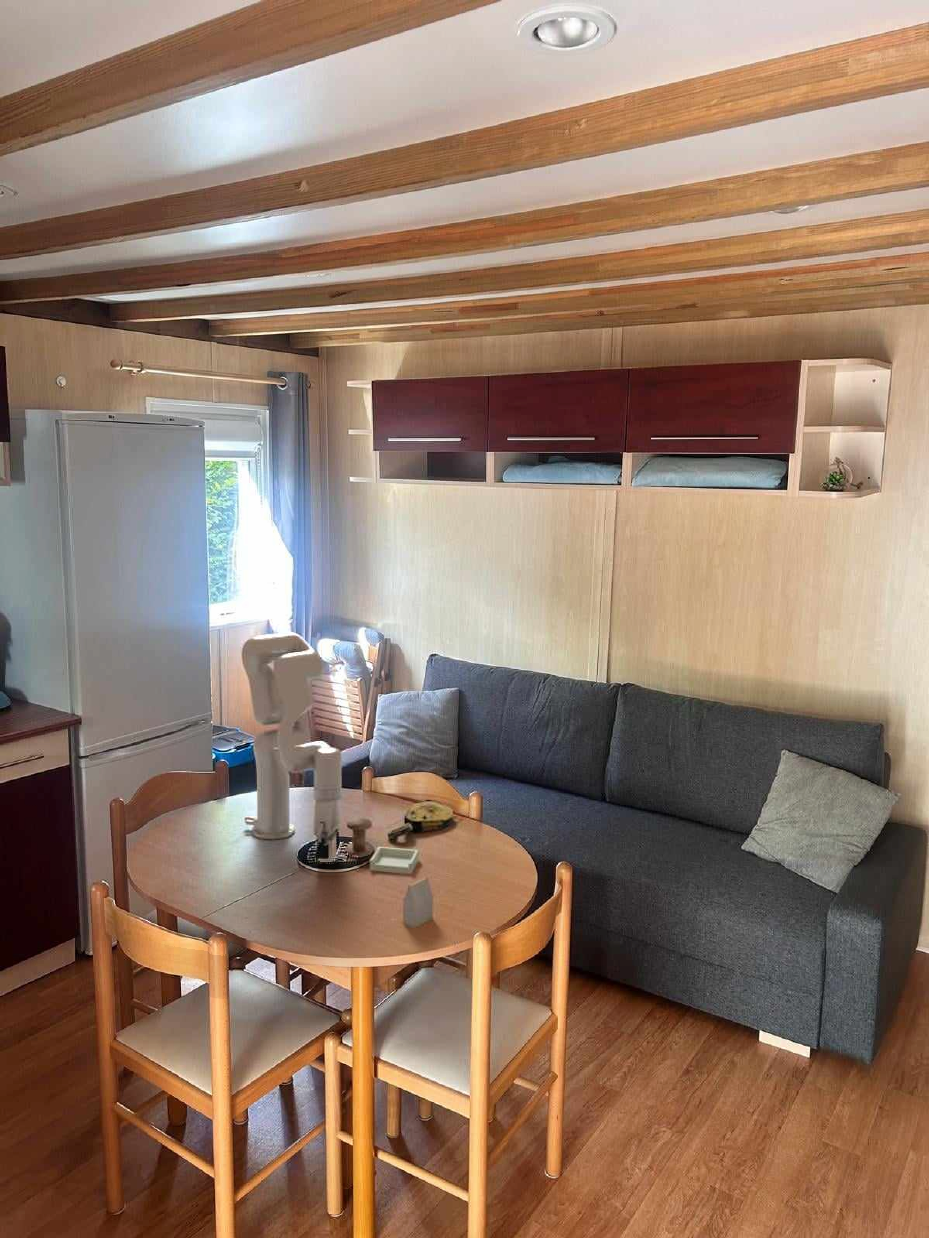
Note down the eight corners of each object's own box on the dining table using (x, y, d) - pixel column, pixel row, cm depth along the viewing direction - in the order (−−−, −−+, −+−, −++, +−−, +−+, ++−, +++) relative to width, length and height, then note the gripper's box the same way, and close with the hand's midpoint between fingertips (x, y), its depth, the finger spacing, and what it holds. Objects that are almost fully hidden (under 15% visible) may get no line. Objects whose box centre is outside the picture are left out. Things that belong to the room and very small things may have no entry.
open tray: (369, 870, 259) (370, 859, 259) (378, 856, 269) (378, 846, 268) (411, 874, 258) (411, 863, 257) (418, 860, 267) (418, 850, 267)
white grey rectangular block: (317, 863, 263) (317, 835, 262) (322, 857, 267) (322, 830, 266) (332, 864, 262) (332, 837, 261) (336, 858, 266) (336, 831, 265)
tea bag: (432, 917, 233) (433, 879, 231) (413, 927, 228) (414, 888, 226) (421, 913, 235) (422, 875, 234) (402, 922, 230) (403, 883, 229)
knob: (341, 856, 268) (341, 826, 267) (349, 845, 276) (349, 816, 274) (368, 858, 267) (369, 828, 265) (375, 848, 275) (376, 818, 273)
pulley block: (373, 817, 282) (430, 790, 307) (370, 834, 283) (427, 807, 308) (410, 834, 274) (466, 806, 299) (408, 852, 276) (463, 822, 301)
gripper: (324, 782, 270) (324, 839, 273) (304, 801, 253) (305, 862, 256) (349, 783, 269) (349, 841, 272) (331, 803, 252) (332, 864, 255)
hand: (328, 851), depth 264 cm, fingers open, 9 cm apart
